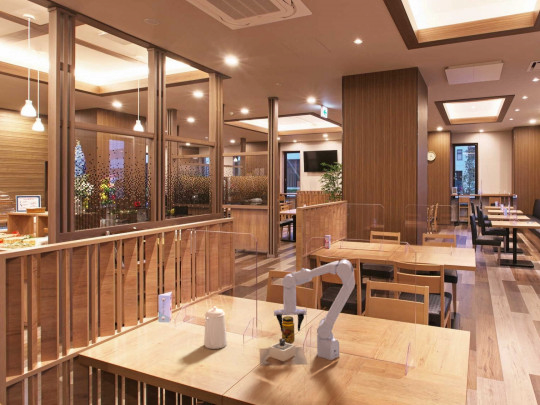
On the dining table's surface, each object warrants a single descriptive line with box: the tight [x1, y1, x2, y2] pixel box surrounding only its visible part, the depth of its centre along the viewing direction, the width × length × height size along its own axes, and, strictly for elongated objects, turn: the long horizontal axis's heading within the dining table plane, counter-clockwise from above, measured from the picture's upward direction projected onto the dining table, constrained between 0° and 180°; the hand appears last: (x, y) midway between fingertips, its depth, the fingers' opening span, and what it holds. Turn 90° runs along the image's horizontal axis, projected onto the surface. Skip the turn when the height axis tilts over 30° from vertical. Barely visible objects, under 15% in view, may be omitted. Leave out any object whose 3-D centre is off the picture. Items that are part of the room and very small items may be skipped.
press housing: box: [268, 341, 296, 361], centre depth 182 cm, size 8×8×4 cm
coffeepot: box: [203, 305, 228, 350], centre depth 197 cm, size 11×25×19 cm, turn 168°
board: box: [259, 346, 308, 367], centre depth 183 cm, size 20×18×1 cm
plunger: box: [277, 338, 287, 350], centre depth 182 cm, size 6×6×7 cm
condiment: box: [281, 315, 296, 344], centre depth 201 cm, size 7×8×12 cm
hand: (290, 330), depth 187 cm, fingers open, 7 cm apart
